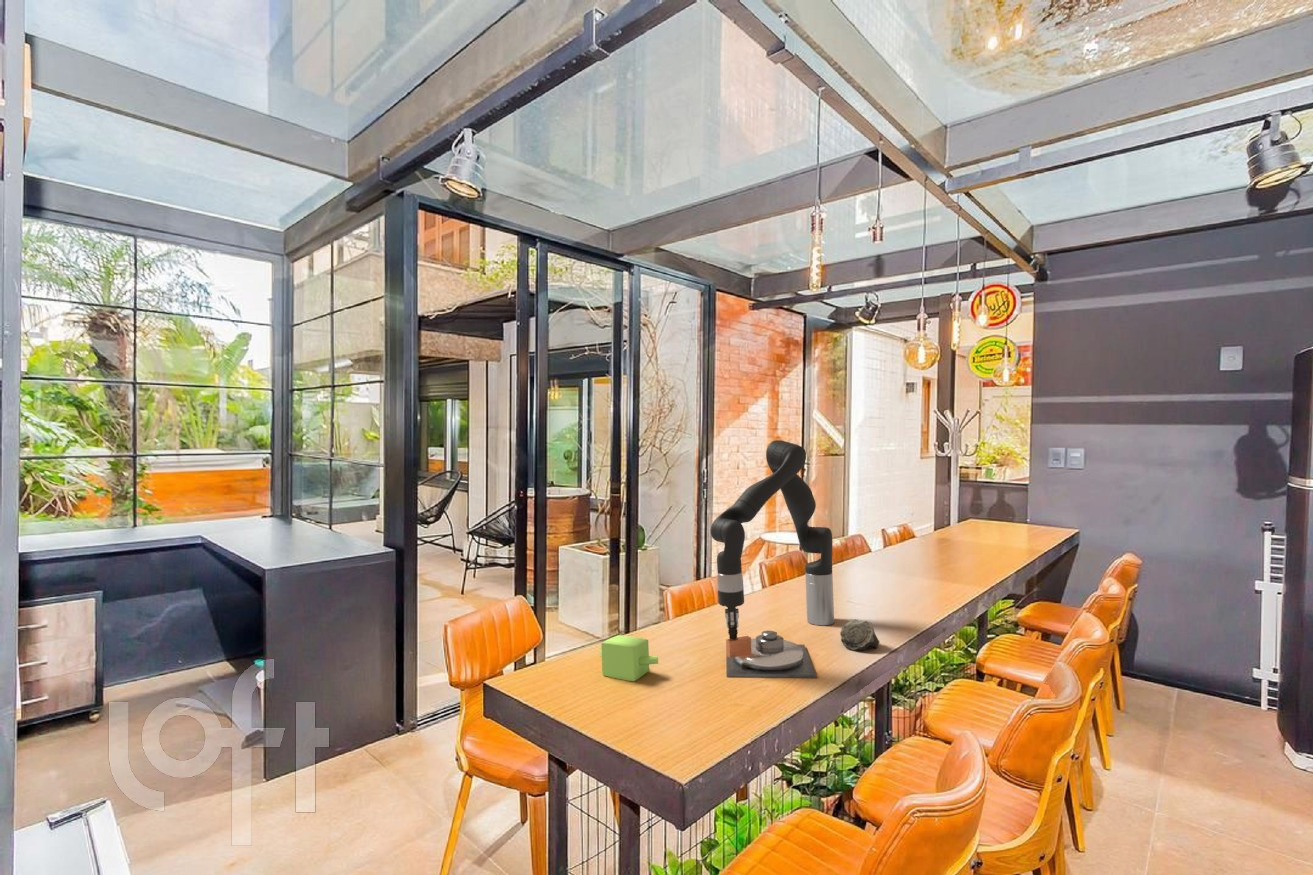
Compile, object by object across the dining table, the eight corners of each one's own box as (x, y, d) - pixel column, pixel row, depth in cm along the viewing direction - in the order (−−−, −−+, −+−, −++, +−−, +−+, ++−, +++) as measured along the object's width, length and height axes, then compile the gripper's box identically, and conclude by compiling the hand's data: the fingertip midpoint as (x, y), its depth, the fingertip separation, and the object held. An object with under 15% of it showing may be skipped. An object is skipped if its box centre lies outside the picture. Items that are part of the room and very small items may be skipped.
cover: (750, 646, 174) (750, 631, 174) (774, 642, 177) (773, 627, 177) (765, 655, 166) (764, 639, 166) (789, 650, 169) (788, 634, 169)
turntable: (712, 653, 175) (711, 630, 175) (777, 641, 184) (776, 619, 184) (747, 676, 157) (746, 651, 157) (817, 662, 166) (816, 637, 166)
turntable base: (726, 646, 184) (726, 644, 184) (804, 647, 182) (804, 644, 182) (726, 676, 161) (726, 673, 161) (816, 677, 158) (816, 674, 158)
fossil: (836, 648, 178) (838, 614, 183) (843, 653, 185) (845, 621, 190) (874, 652, 173) (875, 617, 177) (880, 657, 180) (880, 624, 184)
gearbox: (666, 672, 165) (665, 638, 165) (648, 685, 157) (647, 649, 157) (614, 662, 175) (613, 630, 175) (594, 674, 166) (593, 640, 166)
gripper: (744, 593, 164) (747, 655, 164) (742, 580, 177) (745, 637, 177) (717, 594, 165) (720, 655, 165) (717, 581, 178) (720, 638, 178)
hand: (733, 646), depth 171 cm, fingers closed
